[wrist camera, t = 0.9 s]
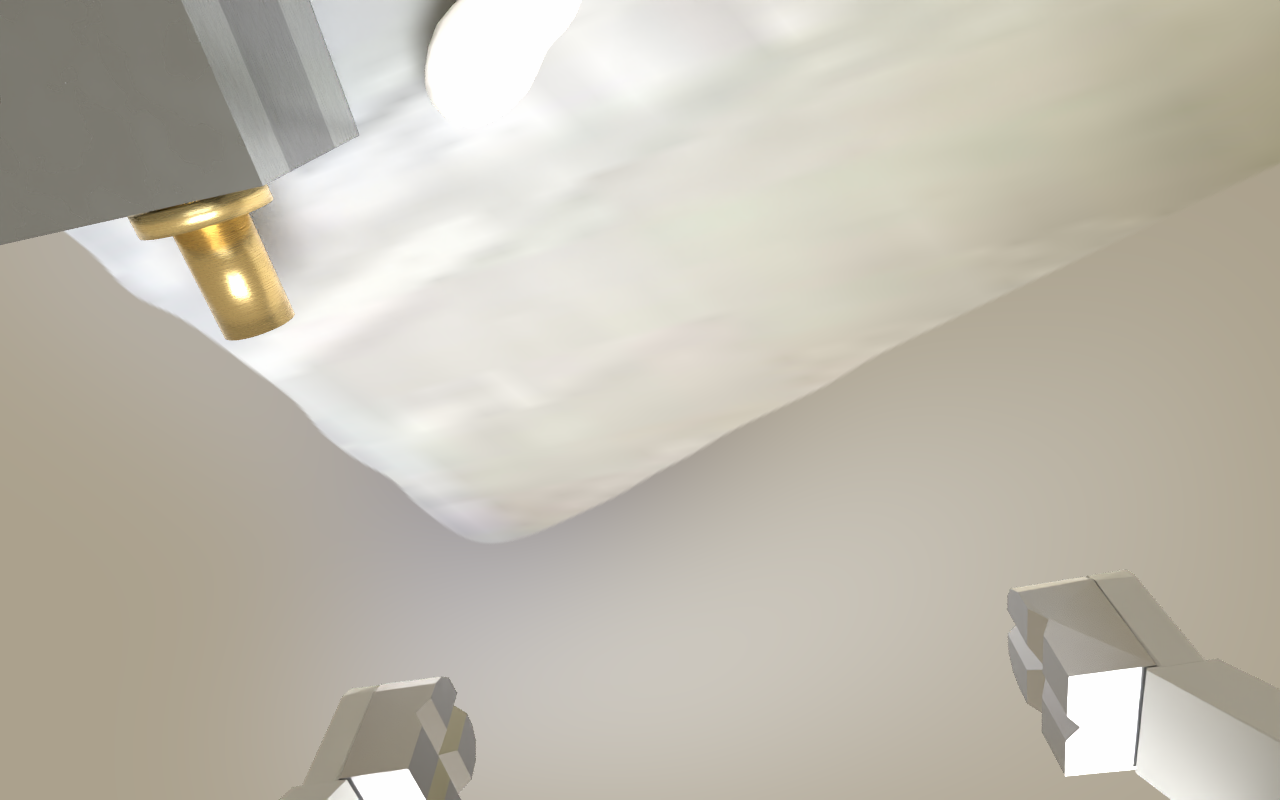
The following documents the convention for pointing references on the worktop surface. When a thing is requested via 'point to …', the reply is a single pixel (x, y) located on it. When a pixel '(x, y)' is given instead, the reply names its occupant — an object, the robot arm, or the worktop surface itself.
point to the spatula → (490, 55)
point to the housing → (155, 105)
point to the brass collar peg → (225, 259)
